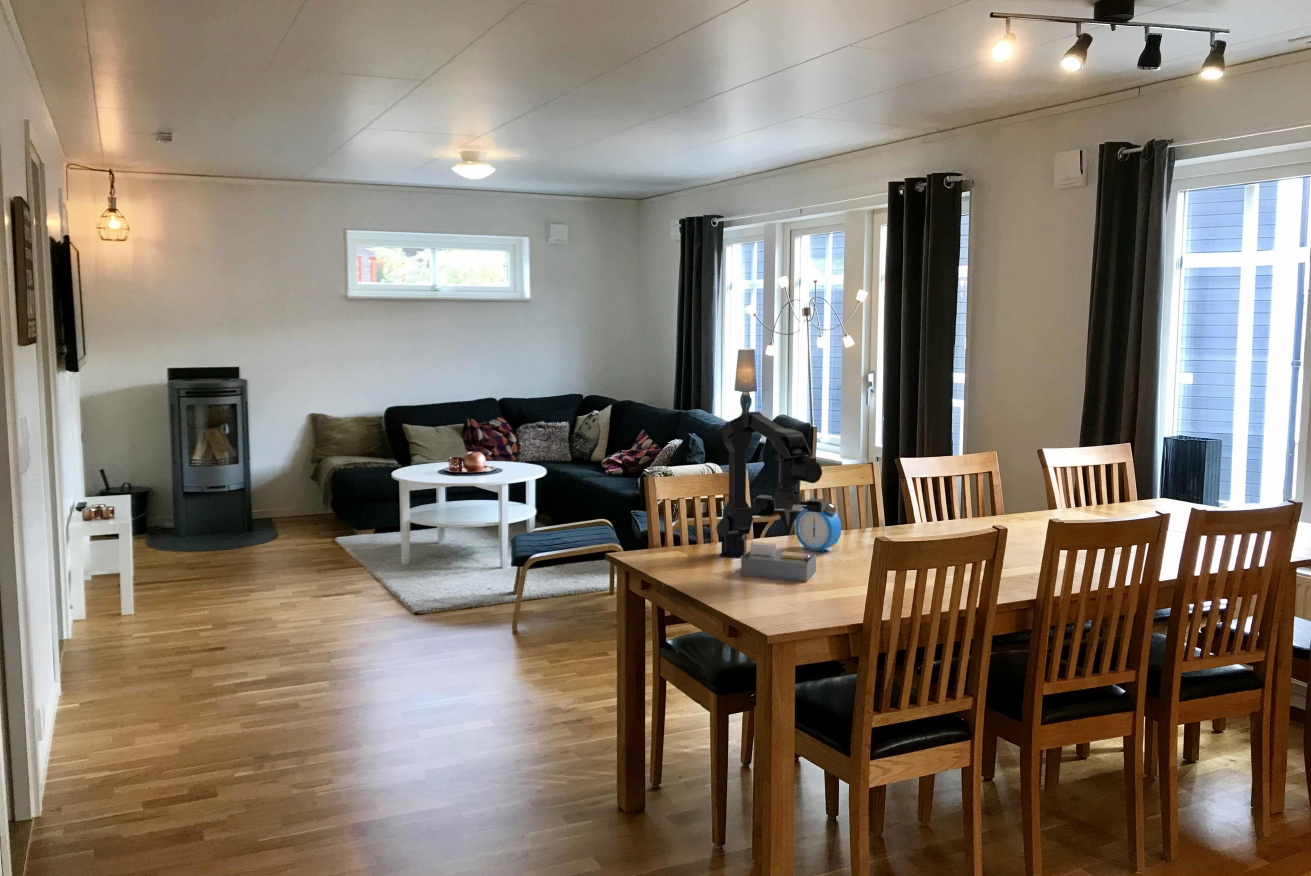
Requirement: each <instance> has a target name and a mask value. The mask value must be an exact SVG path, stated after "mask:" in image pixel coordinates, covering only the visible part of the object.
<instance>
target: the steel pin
mask: <svg viewBox="0 0 1311 876" xmlns="http://www.w3.org/2000/svg"><path fill="white" fill-rule="evenodd" d="M749 551H750V555H756V556H763V557H773V556H775V555H776V551H777V544H776V543H773V542H771V543H770V542H759V541H753V542H751V543H750V549H749Z"/></svg>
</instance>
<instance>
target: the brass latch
mask: <svg viewBox="0 0 1311 876" xmlns="http://www.w3.org/2000/svg"><path fill="white" fill-rule="evenodd" d="M795 552H796V551H786V552H783V553H782V554H781V558H791V559H803V560H808V559H809V558H810V557H811V554H812V553H809V554H807V553H806V552H798V553H795Z"/></svg>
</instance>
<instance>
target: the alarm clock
mask: <svg viewBox="0 0 1311 876" xmlns="http://www.w3.org/2000/svg"><path fill="white" fill-rule="evenodd" d="M808 500H809V499H806V500H805V501H808ZM803 509H804V511H803V512H802V513H801V514H799V515H798V517H797V519H796V521H795V524H794V526H795V527H794V532H795V534H796V538H797V540H798V541H799V543H800V544H801V545H802V546H803V550H805V549H807V550H810V551H812V552H813V551H814V552H819V551H821V552H822V553H823V554H824V553H825V551H824V550H825V549H829V548H831V547H834V546H835V545H836V544H837V543H838V542H839V540H840V538H841V534H842V524H841V519H840V517H839V515H838V514H837V507H836V505H835V504H834V503H832V502H829V501H825V509H824V510H823V511H822V512H809V511H808V510H807V508H803Z"/></svg>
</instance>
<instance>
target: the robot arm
mask: <svg viewBox="0 0 1311 876" xmlns="http://www.w3.org/2000/svg"><path fill="white" fill-rule="evenodd" d="M756 432H757V433H759V434H760V435H761V436H763V437H764V438H766V439H768V440H770V442H771V443H772V447H773V448H774V449H775V450H776V451H777V452H778V454H777V455H775V457H774V460H776V461H778V462H779V463H778V464H779V465H778V466H779V467H778V468H779V469H778V484H777V489H776V491H775V494H774V496H772V495H767V494H759V495H758V496H755V498H754V499H753V502H752V504H753V506H750V505H749V504H748V502H747V451H748V450H749V448H750V446H751V444H752V440H753V435H754V434H755V433H756ZM721 433H722V439H723V444H724V446H725V447H726V449H727V450H728V501H727V503H726V505H725V506H724V508H723V510H722V518H721V519H720V521H719V522H718V524H717V525H716V527H715V530H716V534H717V535H718V536H721V552H720V553H719V556H722V557H731V558H732V557H733V558H742V557H743V556H744V555H746V554H747V539H746V538H745V536H746V535H750V534H751V533H750V532H751V528H752V525H753V521H754V517H753V515H754V513H753V512H754V509H755V508H756V509H762V510H763V509H765V508H766V507H767V506H771V507H772V506H773V507H774V510H773V512H774V513H777V514H778V515H779V517H780V519H781V522H782V525H783V528H784V531H785V534H786V536H790V535H791V533H792V531H793V528H794V526H795V523H796V519H797V517H798V515H799V514H801V513H802V512H803V511H804V509H803V508H807V510H808V511H809V512H822V511H823V510H824V509H825V502H826V500H825V499H823V498H814V497H813V498H812V497H811V498H810V499H807V500H808V501H806V500H802V493H801V482H804V483H809V484H816V483H817V482H819V480H820V479H821V477H822V475H823V469H822V467H821V466H822V465H821V464H820V463H819V462H817V457H816V456H813V455H812V450H811V449H810V447H809V445H808V443H807V441H806V438H805V435H804V433H803V432H801V431H799V430H795V429H792V428H785V427H782V426H781V425H779V424H777V423H776V422H775V421H773V420H772V419H769V417H767V416H764V415H763V413H761V412H760V411H746V412H745V413H743V414H741V415H740V416H738V417H736V418H734V419H731V420H730V421H727V422H726V423H724V425H723V426H722V431H721ZM753 508H754V509H753Z"/></svg>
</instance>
